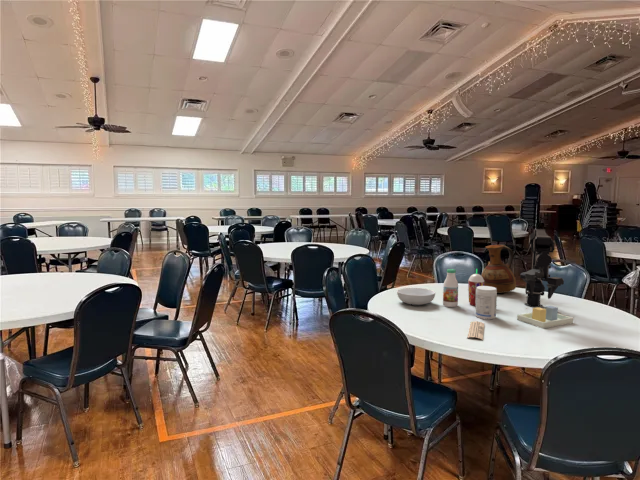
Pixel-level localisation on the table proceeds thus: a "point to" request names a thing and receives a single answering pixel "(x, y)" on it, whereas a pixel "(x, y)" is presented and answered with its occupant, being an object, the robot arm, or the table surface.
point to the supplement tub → (486, 302)
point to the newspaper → (476, 330)
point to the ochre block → (539, 314)
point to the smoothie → (474, 286)
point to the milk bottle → (450, 289)
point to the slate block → (551, 312)
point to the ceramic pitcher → (499, 270)
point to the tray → (560, 320)
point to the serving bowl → (416, 295)
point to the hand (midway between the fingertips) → (540, 296)
